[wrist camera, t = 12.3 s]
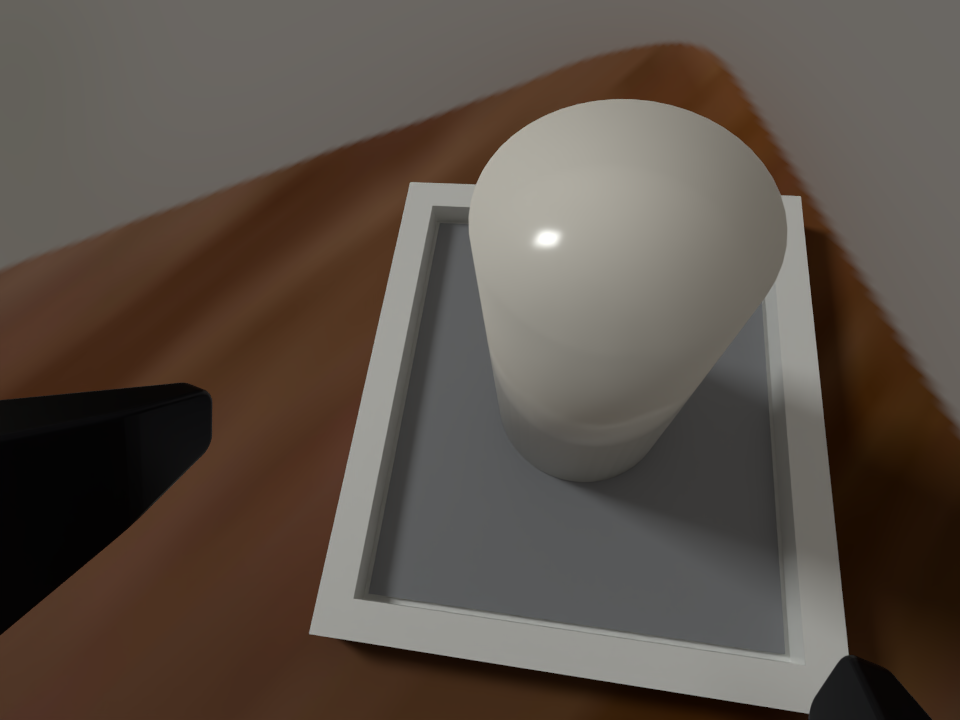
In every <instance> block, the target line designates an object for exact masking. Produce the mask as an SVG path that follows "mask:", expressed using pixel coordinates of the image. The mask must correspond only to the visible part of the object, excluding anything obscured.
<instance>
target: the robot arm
mask: <svg viewBox="0 0 960 720" xmlns="http://www.w3.org/2000/svg"><path fill="white" fill-rule="evenodd" d="M211 439H212V398H211V396H210V394H209V393H208V392H207V391H206V390H203V389H201V388H199V387H196V386H194V385H191V384H188V383H174V384H164V385H153V386H143V387H132V388H122V389H112V390H101V391H91V392H81V393H70V394H60V395H50V396H39V397H29V398H19V399H8V400H0V635H1V634H2V633H4V632H5V631H6V630H7V629H8V628H10V627H11V626H12V625H13V624H14V623H16V622H17V621H18V620H19V619H20V618H21V617H23V616H24V615H25V614H26V613H27V612H29V611H30V610H31V609H32V608H33V607H35V606H36V605H37V604H38V603H39V602H41V601H42V600H43V599H44V598H45V597H47V596H48V595H49V594H50V593H51V592H53V591H54V590H55V589H56V588H57V587H59V586H60V585H61V584H62V583H63V582H65V581H66V580H67V579H68V578H69V577H71V576H72V575H73V574H74V573H75V572H77V571H78V570H79V569H80V568H81V567H83V566H84V565H85V564H86V563H87V562H89V561H90V560H91V559H92V558H93V557H95V556H96V555H97V554H98V553H99V552H101V551H102V550H103V549H104V548H105V547H107V546H108V545H109V544H110V543H111V542H113V541H114V540H115V539H116V538H117V537H119V536H120V535H121V534H122V533H123V532H124V531H125V530H127V529H128V528H129V527H130V526H131V525H132V524H133V523H134V522H135V521H136V520H137V519H139V518H140V517H141V516H142V515H143V514H144V513H145V512H146V511H147V510H148V509H149V508H150V507H151V506H152V505H153V504H154V503H155V502H156V501H157V500H158V499H159V498H160V497H161V496H162V495H163V494H164V493H165V492H166V491H167V490H168V489H169V488H170V487H171V486H172V485H173V484H174V483H175V482H176V481H177V480H178V479H179V478H180V477H181V476H182V475H183V474H184V473H185V472H186V471H187V470H188V469H189V468H190V467H191V466H192V465H193V464H194V463H195V462H196V461H197V460H198V459H199V458H200V457H201V456H202V455H203V454H204V453H205V452H206V450H207V449H208V447H209V445H210V442H211ZM809 720H932V719H931V718H930V717H929V715H928V714H927V713H926V712H925V711H924V710H923V709H922V707H921V706H920V705H919V704H918V703H917V702H916V700H915V699H914V698H913V697H912V696H911V695H910V694H909V692H908V691H907V690H906V689H905V688H904V687H903V685H902V684H901V683H900V682H899V681H898V680H897V679H896V677H895V676H894V675H893V674H892V673H891V672H890V671H888V670H887V669H885V668H884V667H881V666H879V665H877V664H874V663H872V662H869V661H867V660H864V659H862V658H859V657H857V656H854V655H847V656H844V657H843V658H841V659H840V661H839V662H838V663H837V664H836V666H835V667H834V669H833V670H832V672H831V673H830V675H829V676H828V678H827V679H826V681H825V682H824V684H823V685H822V687H821V688H820V690H819V691H818V693H817V694H816V696H815V697H814V699H813V702H812V704H811V707H810V712H809Z"/></svg>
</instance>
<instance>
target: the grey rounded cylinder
mask: <svg viewBox="0 0 960 720" xmlns="http://www.w3.org/2000/svg"><path fill="white" fill-rule="evenodd" d="M469 237H470V243H471V249H472V255H473V260H474V266H475V272H476V278H477V283H478V289H479V295H480V301H481V306H482V312H483V318H484V324H485V329H486V335H487V341H488V347H489V352H490V358H491V364H492V370H493V375H494V381H495V387H496V393H497V398H498V404H499V410H500V415H501V421H502V424H503V427H504V430H505V432H506V434H507V436H508V438H509V440H510V441H511V443H512V444H513V446H514V448H515V449H516V450H517V451H518V452H519V453H520V455H521V456H522V457H523V458H524V459H526V460H527V461H528V462H529V463H530V464H532V465H533V466H534V467H536V468H537V469H539V470H541V471H543V472H545V473H546V474H548V475H551V476H554V477H556V478H559V479H563V480H568V481H574V482H596V481H601V480H606V479H609V478H612V477H616V476H618V475H620V474H622V473H624V472H626V471H628V470H629V469H631V468H632V467H634V466H635V465H636V464H637V463H638V462H640V461H641V460H642V459H643V458H644V457H645V456H646V454H647V453H648V452H649V451H650V450H651V448H652V447H653V446H654V444H655V443H656V442H657V440H658V439H659V438H660V436H661V435H662V434H663V432H664V431H665V430H666V428H667V427H668V426H669V424H670V423H671V422H672V420H673V419H674V418H675V416H676V415H677V414H678V412H679V411H680V410H681V408H682V407H683V406H684V404H685V403H686V402H687V401H688V399H689V398H690V397H691V395H692V394H693V393H694V391H695V390H696V389H697V387H698V386H699V385H700V383H701V382H702V381H703V379H704V378H705V377H706V375H707V374H708V373H709V371H710V370H711V369H712V367H713V366H714V365H715V363H716V362H717V361H718V359H719V358H720V357H721V355H722V354H723V353H724V351H725V350H726V349H727V347H728V346H729V345H730V343H731V342H732V341H733V339H734V338H735V337H736V335H737V334H738V333H739V332H740V330H741V329H742V328H743V326H744V325H745V324H746V322H747V321H748V320H749V318H750V317H751V316H752V314H753V313H754V312H755V310H756V309H757V308H758V306H759V305H760V304H761V302H762V301H763V300H764V298H765V297H766V296H767V294H768V292H769V291H770V289H771V287H772V286H773V284H774V283H775V281H776V279H777V276H778V274H779V271H780V269H781V267H782V264H783V260H784V256H785V251H786V247H787V220H786V212H785V208H784V205H783V201H782V198H781V194H780V192H779V190H778V188H777V186H776V184H775V181H774V179H773V178H772V176H771V174H770V173H769V171H768V170H767V168H766V167H765V165H764V164H763V163H762V161H761V160H760V159H759V158H758V157H757V156H756V154H755V153H754V152H753V151H752V150H751V149H750V148H749V147H748V146H747V145H745V144H744V143H743V142H742V141H741V140H740V139H739V138H738V137H736V136H735V135H733V134H732V133H731V132H729V131H728V130H726V129H725V128H723V127H722V126H720V125H718V124H716V123H715V122H713V121H711V120H709V119H707V118H705V117H703V116H700V115H698V114H696V113H693V112H691V111H688V110H685V109H682V108H679V107H675V106H672V105H668V104H663V103H658V102H653V101H644V100H634V99H612V100H601V101H593V102H588V103H582V104H577V105H574V106H570V107H567V108H564V109H560V110H558V111H555V112H553V113H550V114H548V115H546V116H543V117H542V118H540V119H538V120H536V121H534V122H532V123H530V124H529V125H527V126H526V127H524V128H523V129H521V130H520V131H518V132H517V133H516V134H514V135H513V136H512V137H511V138H510V139H509V140H508V141H506V142H505V143H504V144H503V145H502V146H501V147H500V148H499V149H498V151H497V152H496V153H495V154H494V155H493V156H492V157H491V159H490V160H489V162H488V163H487V165H486V166H485V168H484V169H483V171H482V173H481V175H480V177H479V179H478V181H477V184H476V186H475V189H474V192H473V196H472V199H471V203H470V211H469Z"/></svg>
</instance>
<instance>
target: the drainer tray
mask: <svg viewBox="0 0 960 720" xmlns="http://www.w3.org/2000/svg"><path fill="white" fill-rule="evenodd" d="M475 186H476V185H472V184H444V183H416V182H410V186H409V190H408V195H407V199H406V203H405V208H404V212H403V217H402V221H401V226H400V230H399V235H398V239H397V244H396V248H395V253H394V257H393V261H392V266H391V270H390V275H389V279H388V284H387V288H386V293H385V297H384V302H383V306H382V310H381V315H380V319H379V324H378V328H377V333H376V337H375V342H374V346H373V351H372V355H371V360H370V364H369V368H368V373H367V377H366V382H365V386H364V391H363V395H362V400H361V404H360V409H359V413H358V418H357V422H356V426H355V431H354V435H353V440H352V444H351V449H350V453H349V458H348V462H347V467H346V471H345V476H344V480H343V484H342V489H341V493H340V498H339V502H338V507H337V511H336V516H335V520H334V525H333V529H332V534H331V538H330V542H329V547H328V551H327V556H326V560H325V565H324V569H323V574H322V578H321V583H320V587H319V592H318V596H317V600H316V605H315V609H314V614H313V618H312V623H311V627H310V632H309V634H313V635H319V636H325V637H331V638H338V639H344V640H350V641H357V642H363V643H369V644H375V645H382V646H388V647H394V648H400V649H407V650H413V651H419V652H425V653H432V654H438V655H444V656H450V657H457V658H463V659H469V660H475V661H482V662H488V663H494V664H501V665H507V666H513V667H519V668H526V669H532V670H538V671H544V672H551V673H557V674H563V675H569V676H576V677H582V678H588V679H594V680H601V681H607V682H613V683H619V684H626V685H632V686H638V687H644V688H651V689H657V690H663V691H670V692H676V693H682V694H688V695H695V696H701V697H707V698H713V699H720V700H726V701H732V702H738V703H745V704H751V705H757V706H763V707H770V708H776V709H782V710H788V711H795V712H801V713H807V714H809V712H810V707H811V704H812V702H813V699H814V697H815V696H816V694H817V693H818V691H819V690H820V688H821V687H822V685H823V684H824V682H825V681H826V679H827V678H828V676H829V675H830V673H831V672H832V670H833V669H834V667H835V666H836V664H837V663H838V662H839V661H840V659H841V658H843V657H844V656H847V655H849V653H848V643H847V634H846V624H845V615H844V605H843V595H842V586H841V576H840V567H839V557H838V548H837V538H836V529H835V519H834V510H833V500H832V490H831V481H830V471H829V462H828V452H827V443H826V433H825V424H824V414H823V405H822V395H821V386H820V376H819V366H818V357H817V347H816V338H815V328H814V319H813V309H812V300H811V290H810V281H809V271H808V262H807V252H806V242H805V233H804V223H803V214H802V204H801V196H781V198H782V201H783V205H784V208H785V212H786V220H787V247H786V251H785V256H784V260H783V264H782V267H781V269H780V271H779V274H778V276H777V279H776V281H775V283H774V284H773V286H772V287H771V289H770V291H769V292H768V294H767V296H766V297H765V298H764V300H763V301H762V302H761V304H760V305H759V306H758V308H757V309H756V310H755V312H754V313H753V314H752V316H751V317H750V318H749V320H748V321H747V322H746V324H745V325H744V326H743V328H742V329H741V330H740V332H739V333H738V334H737V335H736V337H735V338H734V339H733V341H732V342H731V343H730V345H729V346H728V347H727V349H726V350H725V351H724V353H723V354H722V355H721V357H720V358H719V359H718V361H717V362H716V363H715V365H714V366H713V367H712V369H711V370H710V371H709V373H708V374H707V375H706V377H705V378H704V379H703V381H702V382H701V383H700V385H699V386H698V387H697V389H696V390H695V391H694V393H693V394H692V395H691V397H690V398H689V399H688V401H687V402H686V403H685V404H684V406H683V407H682V408H681V410H680V411H679V412H678V414H677V415H676V416H675V418H674V419H673V420H672V422H671V423H670V424H669V426H668V427H667V428H666V430H665V431H664V432H663V434H662V435H661V436H660V438H659V439H658V440H657V442H656V443H655V444H654V446H653V447H652V448H651V450H650V451H649V452H648V453H647V454H646V456H645V457H644V458H643V459H642V460H641V461H640V462H638V463H637V464H636V465H635V466H634V467H632V468H631V469H629V470H628V471H626V472H624V473H622V474H620V475H618V476H616V477H612V478H609V479H606V480H601V481H596V482H574V481H568V480H563V479H559V478H556V477H554V476H551V475H548V474H546V473H545V472H543V471H541V470H539V469H537V468H536V467H534V466H533V465H532V464H530V463H529V462H528V461H527V460H526V459H524V458H523V457H522V456H521V455H520V453H519V452H518V451H517V450H516V449H515V448H514V446H513V444H512V443H511V441H510V440H509V438H508V436H507V434H506V432H505V430H504V427H503V424H502V421H501V415H500V410H499V404H498V398H497V393H496V387H495V381H494V375H493V370H492V364H491V358H490V352H489V347H488V341H487V335H486V329H485V324H484V318H483V312H482V306H481V301H480V295H479V289H478V283H477V278H476V272H475V266H474V260H473V255H472V249H471V243H470V237H469V211H470V203H471V199H472V196H473V192H474V189H475Z"/></svg>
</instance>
